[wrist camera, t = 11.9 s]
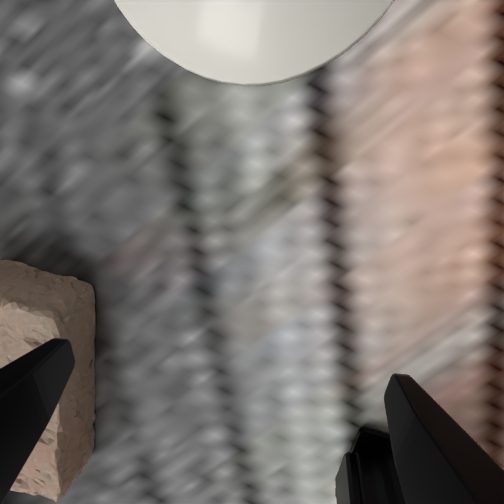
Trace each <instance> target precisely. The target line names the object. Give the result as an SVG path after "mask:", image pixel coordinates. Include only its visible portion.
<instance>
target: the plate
mask: <svg viewBox="0 0 504 504" xmlns="http://www.w3.org/2000/svg"><path fill="white" fill-rule="evenodd" d="M114 1H115V2H116V4H117V6H118V8H119V9H120V10H121V12H122V13H123V14H124V16H125V17H126V18H127V20H128V21H129V23H130V24H131V25H132V26H133V27H134V29H135V30H136V31H137V32H138V33H139V34H140V35H141V36H142V37H143V38H144V39H145V40H146V41H147V42H148V43H149V44H150V45H151V46H153V47H154V48H155V49H156V50H158V51H159V52H160V53H161V54H162V55H164V56H165V57H167V58H169V59H170V60H172V61H173V62H175V63H177V64H178V65H180V66H182V67H183V68H185V69H186V70H188V71H190V72H192V73H194V74H197V75H199V76H201V77H203V78H206V79H209V80H212V81H216V82H220V83H223V84H229V85H238V86H265V85H271V84H277V83H282V82H286V81H289V80H292V79H295V78H299V77H302V76H305V75H307V74H309V73H311V72H313V71H315V70H317V69H319V68H321V67H323V66H325V65H327V64H328V63H330V62H331V61H333V60H334V59H336V58H337V57H339V56H340V55H342V54H343V53H345V52H346V51H347V50H348V49H349V48H351V47H352V46H353V45H354V44H355V43H357V42H358V41H359V40H360V39H361V38H363V37H364V36H365V34H366V33H367V32H368V31H369V30H370V29H371V28H372V27H373V26H374V25H375V24H376V23H377V22H378V21H379V20H380V19H381V17H382V16H383V15H384V13H385V12H386V11H387V10H388V8H389V7H390V6H391V4H392V3H393V2H394V0H114Z"/></svg>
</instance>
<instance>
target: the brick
mask: <svg viewBox="0 0 504 504" xmlns="http://www.w3.org/2000/svg"><path fill="white" fill-rule="evenodd" d="M95 326H96V323H95V294H94V289H93V287H92V285H90V284H89V283H87V282H85V281H80V280H78V279H77V278H75V277H72V276H61V275H55V274H52V273H49V272H47V271H42V270H38V269H37V268H34V267H30V266H28V265H27V264H24V263H22V262H17V261H11V260H0V368H2V367H3V366H5V365H7V364H9V363H10V362H12V361H14V360H16V359H17V358H19V357H21V356H23V355H24V354H26V353H28V352H30V351H31V350H33V349H35V348H37V347H38V346H40V345H42V344H44V343H45V342H47V341H49V340H51V339H53V338H62V339H68V340H69V341H70V342H71V345H72V349H73V353H74V357H75V366H74V369H73V372H72V374H71V376H70V378H69V380H68V383H67V385H66V387H65V389H64V391H63V394H62V396H61V398H60V400H59V402H58V404H57V407H56V409H55V411H54V413H53V415H52V417H51V419H50V421H49V423H48V425H47V427H46V429H45V430H44V432H43V434H42V435H41V437H40V439H39V441H38V442H37V444H36V446H35V448H34V449H33V451H32V453H31V454H30V456H29V458H28V460H27V461H26V463H25V465H24V466H23V468H22V470H21V472H20V473H19V475H18V477H17V479H16V480H15V482H14V484H13V485H12V487H11V489H10V490H12V491H16V492H25V493H28V494H31V495H36V494H39V495H42V496H44V497H47V498H50V499H53V500H54V501H56V502H57V501H58V500H59V499H60V498H61V497H63V496H64V495H65V494H66V492H67V490H68V489H69V487H70V485H71V484H72V483H73V482H74V481H75V480H76V478H77V477H78V474H80V473H81V470H82V469H83V468H84V466H85V465H86V464H87V462H88V461H89V459H90V457H91V455H92V453H93V449H94V436H95V430H94V427H93V425H92V424H93V422H94V421H95V419H96V415H95V412H94V409H95V389H96V387H95V382H94V381H95V367H94V362H95V347H94V338H95Z"/></svg>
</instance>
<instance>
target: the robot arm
mask: <svg viewBox="0 0 504 504" xmlns="http://www.w3.org/2000/svg"><path fill="white" fill-rule="evenodd" d="M74 366H75V357H74V353H73V349H72V345H71V342H70V341H69V340H68V339H62V338H53V339H51V340H49V341H47V342H45V343H44V344H42V345H40V346H38V347H37V348H35V349H33V350H31V351H30V352H28V353H26V354H24V355H23V356H21V357H19V358H17V359H16V360H14V361H12V362H10V363H9V364H7V365H5V366H3V367H2V368H0V504H2V503H3V501H4V499H5V497H6V496H7V494H8V492H9V491H10V489H11V487H12V485H13V484H14V482H15V480H16V479H17V477H18V475H19V473H20V472H21V470H22V468H23V466H24V465H25V463H26V461H27V460H28V458H29V456H30V454H31V453H32V451H33V449H34V448H35V446H36V444H37V442H38V441H39V439H40V437H41V435H42V434H43V432H44V430H45V429H46V427H47V425H48V423H49V421H50V419H51V417H52V415H53V413H54V411H55V409H56V407H57V404H58V402H59V400H60V398H61V396H62V394H63V391H64V389H65V387H66V385H67V383H68V380H69V378H70V376H71V374H72V372H73V369H74ZM384 403H385V409H386V415H387V421H388V427H389V433H390V434H387V433H384V432H381V431H377V430H374V429H371V428H367V427H363V428H361V429H359V431H358V433H357V435H356V438H355V440H354V443H353V445H352V448H351V450H350V452H347V453H346V454H345V455H344V458H343V461H342V463H341V466H340V468H339V471H338V473H337V476H336V489H335V493H336V498H337V504H504V470H503V469H502V468H501V467H500V466H499V465H498V464H497V463H496V462H495V461H494V460H493V459H492V458H491V457H490V456H489V455H488V454H487V453H486V452H485V451H484V450H483V449H482V448H481V447H480V446H479V445H478V444H477V443H476V442H475V441H474V440H473V439H472V438H471V437H470V436H469V435H468V434H467V433H466V432H465V431H464V430H463V429H462V428H461V427H460V426H459V425H458V424H457V423H456V422H455V421H454V420H453V419H452V418H451V417H450V416H449V415H448V414H447V413H446V412H445V411H444V410H443V409H442V408H441V407H440V406H439V405H438V404H437V403H436V402H435V401H434V400H433V399H432V397H431V396H430V395H429V394H428V393H427V392H426V391H425V390H424V389H423V388H422V387H421V386H420V385H419V384H418V383H417V382H416V381H415V380H414V379H413V378H412V377H410V376H409V375H406V374H396V373H395V374H393V375H392V376H391V378H390V381H389V383H388V386H387V388H386V391H385V395H384ZM364 435H368V436H364Z"/></svg>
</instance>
